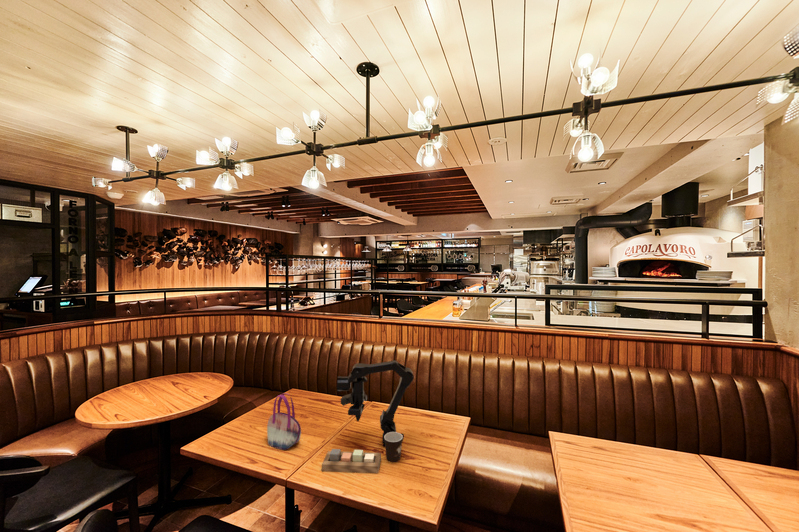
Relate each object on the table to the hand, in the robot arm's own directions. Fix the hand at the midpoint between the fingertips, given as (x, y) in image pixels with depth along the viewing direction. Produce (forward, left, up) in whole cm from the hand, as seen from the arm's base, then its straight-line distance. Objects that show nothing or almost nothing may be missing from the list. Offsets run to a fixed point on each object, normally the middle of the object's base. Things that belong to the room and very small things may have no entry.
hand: (358, 420), depth 157 cm
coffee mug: (-20, +9, -12) cm, 25 cm away
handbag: (+38, +1, -12) cm, 40 cm away
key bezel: (0, +16, -12) cm, 20 cm away
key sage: (-3, +16, -10) cm, 19 cm away
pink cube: (+2, +16, -12) cm, 20 cm away
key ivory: (-8, +16, -12) cm, 21 cm away
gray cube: (+7, +16, -10) cm, 20 cm away
